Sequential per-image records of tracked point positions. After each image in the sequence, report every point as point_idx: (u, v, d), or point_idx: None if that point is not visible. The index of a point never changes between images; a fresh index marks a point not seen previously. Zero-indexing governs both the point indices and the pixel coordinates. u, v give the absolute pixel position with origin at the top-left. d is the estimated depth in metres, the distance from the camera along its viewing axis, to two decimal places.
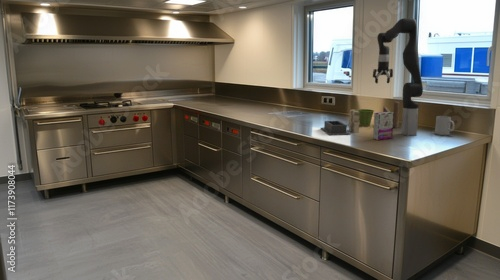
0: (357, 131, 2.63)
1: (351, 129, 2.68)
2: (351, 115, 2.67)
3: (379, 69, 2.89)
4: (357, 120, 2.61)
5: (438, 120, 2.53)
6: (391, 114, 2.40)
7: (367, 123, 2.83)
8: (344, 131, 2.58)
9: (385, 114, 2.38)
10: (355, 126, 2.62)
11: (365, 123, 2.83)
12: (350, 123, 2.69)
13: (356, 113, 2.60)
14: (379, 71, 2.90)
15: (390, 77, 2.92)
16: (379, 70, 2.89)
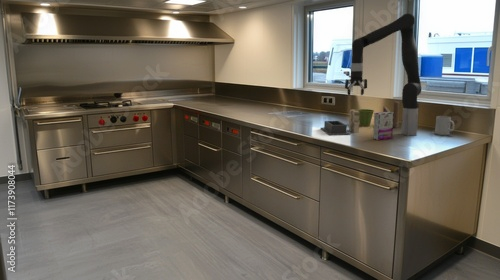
0: (357, 131, 2.63)
1: (351, 129, 2.68)
2: (351, 115, 2.67)
3: (352, 79, 2.59)
4: (357, 120, 2.61)
5: (438, 120, 2.53)
6: (391, 114, 2.40)
7: (367, 123, 2.83)
8: (344, 131, 2.58)
9: (385, 114, 2.38)
10: (355, 126, 2.62)
11: (365, 123, 2.83)
12: (350, 123, 2.69)
13: (356, 113, 2.60)
14: (352, 82, 2.59)
15: (364, 88, 2.61)
16: (352, 80, 2.59)
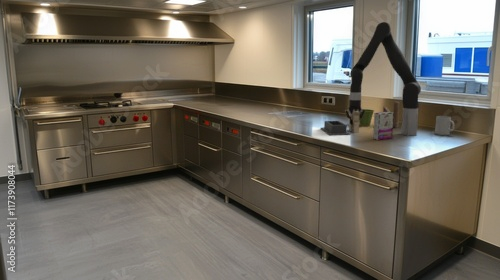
0: (357, 131, 2.63)
1: (351, 129, 2.68)
2: None
3: (350, 108, 2.63)
4: (357, 120, 2.61)
5: (438, 120, 2.53)
6: (391, 114, 2.40)
7: (367, 123, 2.83)
8: (344, 131, 2.58)
9: (385, 114, 2.38)
10: (355, 126, 2.62)
11: (365, 123, 2.83)
12: None
13: (356, 113, 2.60)
14: (351, 110, 2.63)
15: (359, 118, 2.65)
16: (350, 109, 2.63)
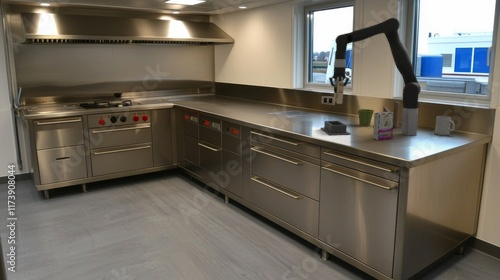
0: (341, 102, 2.58)
1: (335, 100, 2.63)
2: None
3: (334, 76, 2.58)
4: (341, 91, 2.56)
5: (438, 120, 2.53)
6: (391, 114, 2.40)
7: (367, 123, 2.83)
8: (344, 131, 2.58)
9: (385, 114, 2.38)
10: (339, 96, 2.57)
11: (365, 123, 2.83)
12: (335, 94, 2.64)
13: (340, 84, 2.54)
14: (335, 77, 2.58)
15: None
16: (335, 77, 2.58)
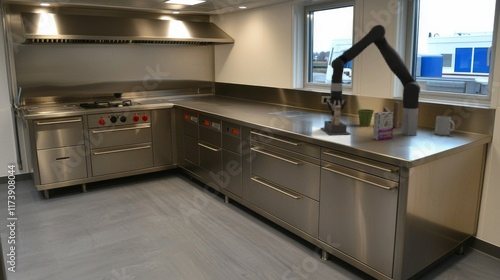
0: None
1: (332, 124, 2.65)
2: None
3: (331, 99, 2.60)
4: (338, 115, 2.59)
5: (438, 120, 2.53)
6: (391, 114, 2.40)
7: (367, 123, 2.83)
8: (344, 131, 2.58)
9: (385, 114, 2.38)
10: (336, 120, 2.59)
11: (365, 123, 2.83)
12: (332, 117, 2.67)
13: (337, 108, 2.57)
14: (332, 101, 2.61)
15: None
16: (332, 100, 2.61)
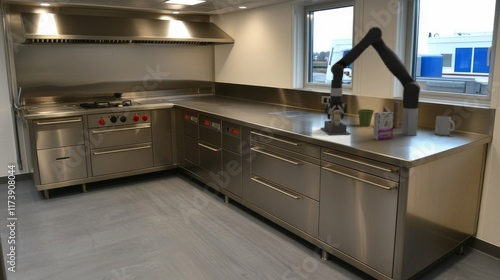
0: None
1: None
2: (332, 114, 2.65)
3: (331, 104, 2.61)
4: (338, 119, 2.59)
5: (438, 120, 2.53)
6: (391, 114, 2.40)
7: (367, 123, 2.83)
8: (344, 131, 2.58)
9: (385, 114, 2.38)
10: None
11: (365, 123, 2.83)
12: (331, 122, 2.68)
13: (337, 112, 2.58)
14: (331, 106, 2.61)
15: (344, 112, 2.64)
16: (331, 105, 2.61)
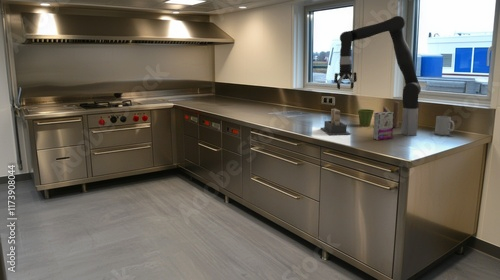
0: None
1: None
2: (332, 114, 2.65)
3: (341, 73, 2.55)
4: (338, 119, 2.59)
5: (438, 120, 2.53)
6: (391, 114, 2.40)
7: (367, 123, 2.83)
8: (344, 131, 2.58)
9: (385, 114, 2.38)
10: None
11: (365, 123, 2.83)
12: (331, 122, 2.68)
13: (337, 112, 2.58)
14: (341, 75, 2.55)
15: None
16: (341, 74, 2.55)
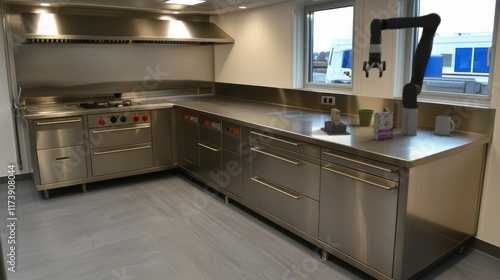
0: None
1: None
2: (332, 114, 2.65)
3: (370, 61, 2.50)
4: (338, 119, 2.59)
5: (438, 120, 2.53)
6: (391, 114, 2.40)
7: (367, 123, 2.83)
8: (344, 131, 2.58)
9: (385, 114, 2.38)
10: None
11: (365, 123, 2.83)
12: (331, 122, 2.68)
13: (337, 112, 2.58)
14: (370, 63, 2.50)
15: (383, 70, 2.52)
16: (370, 62, 2.50)
